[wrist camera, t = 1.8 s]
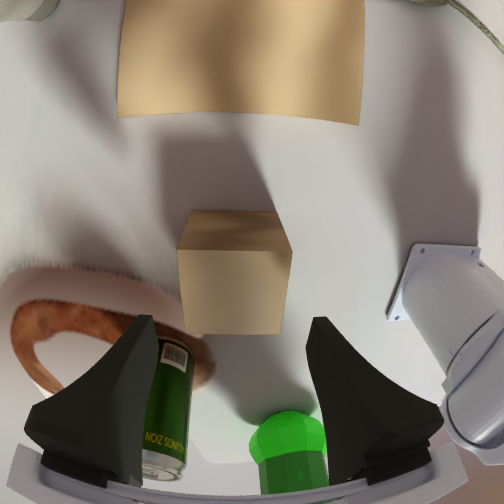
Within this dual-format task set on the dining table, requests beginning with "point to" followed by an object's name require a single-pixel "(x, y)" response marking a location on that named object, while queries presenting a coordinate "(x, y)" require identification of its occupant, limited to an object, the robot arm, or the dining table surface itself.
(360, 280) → the dining table surface
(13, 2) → the lightbulb
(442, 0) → the soupspoon
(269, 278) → the tan cube
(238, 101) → the oak board
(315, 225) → the dining table surface
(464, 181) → the dining table surface
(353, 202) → the dining table surface
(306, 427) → the plastic bottle
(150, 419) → the beer can
